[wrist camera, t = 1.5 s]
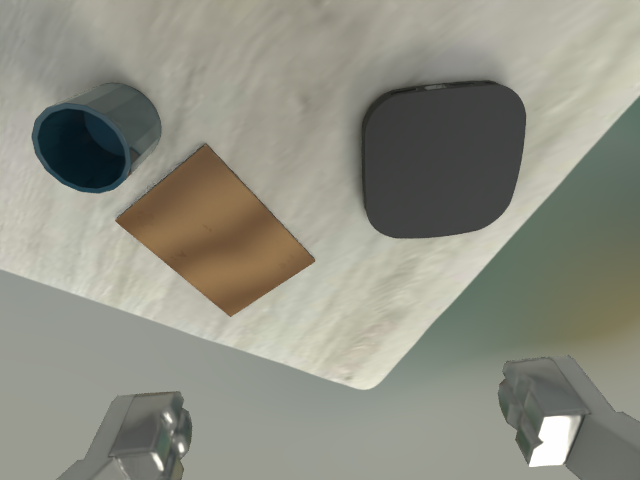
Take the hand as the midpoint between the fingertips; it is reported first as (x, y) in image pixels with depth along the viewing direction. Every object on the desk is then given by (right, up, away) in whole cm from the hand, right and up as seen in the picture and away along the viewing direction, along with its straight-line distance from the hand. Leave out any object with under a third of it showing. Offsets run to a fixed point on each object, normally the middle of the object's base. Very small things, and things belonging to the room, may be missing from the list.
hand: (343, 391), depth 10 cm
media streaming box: (+11, +12, +30) cm, 34 cm away
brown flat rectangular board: (-11, +4, +33) cm, 35 cm away
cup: (-19, +15, +26) cm, 35 cm away
